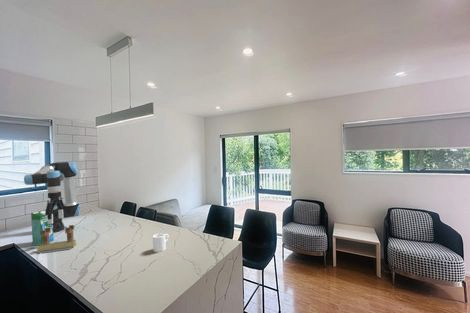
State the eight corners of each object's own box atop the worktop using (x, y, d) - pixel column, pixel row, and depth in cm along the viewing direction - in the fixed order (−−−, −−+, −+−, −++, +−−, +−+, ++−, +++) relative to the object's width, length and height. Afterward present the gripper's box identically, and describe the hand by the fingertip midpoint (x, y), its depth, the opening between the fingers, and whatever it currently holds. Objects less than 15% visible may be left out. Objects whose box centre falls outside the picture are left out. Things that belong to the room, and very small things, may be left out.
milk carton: (41, 245, 165) (40, 213, 165) (32, 244, 167) (31, 213, 166) (53, 240, 174) (52, 210, 173) (45, 240, 175) (43, 210, 175)
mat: (44, 248, 157) (44, 248, 157) (76, 244, 162) (76, 243, 162) (37, 254, 149) (36, 253, 149) (70, 249, 154) (70, 248, 154)
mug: (172, 246, 151) (172, 232, 151) (158, 253, 141) (157, 238, 141) (165, 244, 155) (164, 230, 155) (150, 250, 146) (150, 236, 145)
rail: (37, 251, 151) (37, 246, 151) (41, 249, 155) (40, 244, 155) (73, 247, 156) (73, 241, 156) (76, 245, 160) (75, 239, 160)
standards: (45, 244, 165) (45, 228, 165) (75, 241, 170) (74, 224, 170) (40, 248, 158) (39, 231, 158) (71, 244, 163) (70, 227, 163)
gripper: (57, 189, 166) (59, 216, 167) (37, 195, 142) (38, 226, 143) (69, 188, 168) (70, 215, 169) (50, 194, 144) (52, 225, 144)
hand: (56, 220), depth 156 cm, fingers open, 13 cm apart
